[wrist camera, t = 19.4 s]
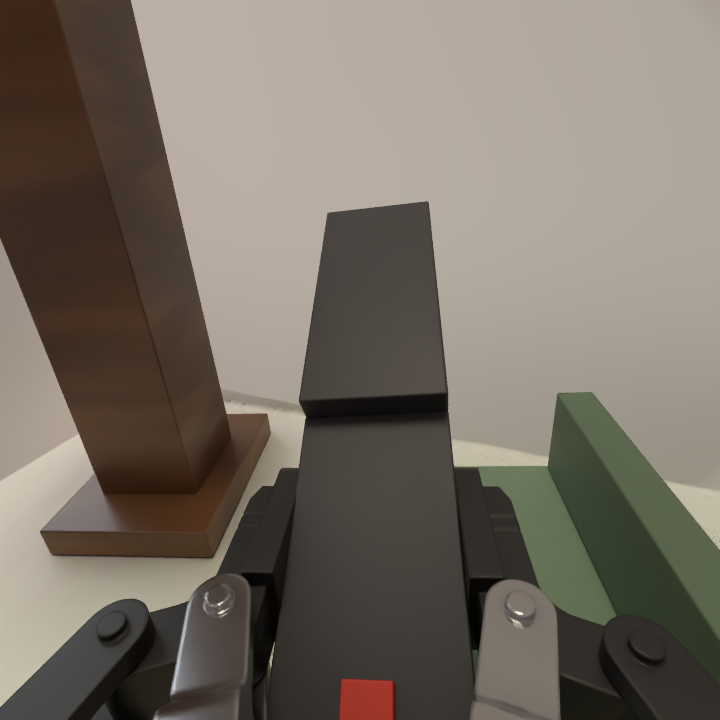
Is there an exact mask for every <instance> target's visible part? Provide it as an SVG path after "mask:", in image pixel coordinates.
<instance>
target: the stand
mask: <svg viewBox="0 0 720 720" xmlns="http://www.w3.org/2000/svg"><path fill="white" fill-rule="evenodd" d="M0 239H1V241H2V244H3V246H4V249H5V251H6V253H7V256H8V258H9V261H10V263H11V266H12V269H13V271H14V273H15V276H16V278H17V281H18V283H19V286H20V288H21V291H22V293H23V296H24V298H25V301H26V303H27V306H28V308H29V311H30V313H31V315H32V318H33V321H34V323H35V325H36V328H37V330H38V333H39V336H40V338H41V341H42V343H43V345H44V348H45V350H46V353H47V355H48V358H49V360H50V363H51V365H52V368H53V370H54V373H55V375H56V378H57V380H58V383H59V385H60V388H61V390H62V393H63V395H64V398H65V400H66V403H67V405H68V408H69V410H70V412H71V415H72V418H73V420H74V423H75V425H76V427H77V430H78V432H79V435H80V437H81V440H82V442H83V445H84V447H85V450H86V452H87V455H88V457H89V460H90V462H91V465H92V467H93V470H94V472H95V474H94V475H93V476H92V477H91V479H90V480H89V481H88V482H87V483H86V484H85V485H84V486H83V487H82V488H81V489H80V490H79V491H78V492H77V493H76V494H75V495H74V496H73V497H72V498H71V499H70V500H69V501H68V503H67V504H66V505H65V506H64V507H63V508H62V509H61V510H60V511H59V512H58V513H57V514H56V515H55V516H54V517H53V518H52V519H51V520H50V521H49V522H48V523H47V524H46V526H45V527H44V528H43V529H42V530H41V531H40V533H41V535H42V537H43V539H44V541H45V543H46V545H47V547H48V549H49V551H50V553H51V554H59V555H116V556H173V557H212V556H213V555H214V553H215V551H216V548H217V546H218V544H219V542H220V540H221V538H222V536H223V533H224V531H225V529H226V527H227V525H228V523H229V521H230V518H231V516H232V514H233V512H234V510H235V508H236V506H237V503H238V501H239V499H240V497H241V495H242V493H243V491H244V488H245V486H246V484H247V482H248V480H249V478H250V476H251V473H252V471H253V469H254V467H255V465H256V463H257V461H258V459H259V456H260V454H261V452H262V450H263V448H264V446H265V444H266V441H267V439H268V437H269V435H270V433H271V431H270V426H269V420H268V415H267V414H226V410H225V406H224V402H223V397H222V393H221V389H220V385H219V381H218V376H217V371H216V367H215V363H214V359H213V354H212V350H211V346H210V341H209V337H208V333H207V328H206V324H205V320H204V315H203V311H202V307H201V302H200V298H199V294H198V289H197V285H196V281H195V276H194V272H193V268H192V263H191V260H190V255H189V250H188V246H187V242H186V238H185V233H184V229H183V224H182V220H181V216H180V212H179V207H178V203H177V199H176V194H175V190H174V186H173V181H172V177H171V173H170V168H169V164H168V160H167V155H166V152H165V147H164V143H163V138H162V134H161V129H160V125H159V121H158V116H157V112H156V108H155V104H154V99H153V95H152V90H151V86H150V82H149V77H148V73H147V69H146V64H145V60H144V56H143V52H142V47H141V43H140V38H139V34H138V30H137V25H136V21H135V17H134V12H133V8H132V4H131V0H0Z"/></svg>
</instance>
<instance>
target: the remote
mask: <svg viewBox="0 0 720 720" xmlns="http://www.w3.org/2000/svg"><path fill="white" fill-rule="evenodd" d="M299 403H300V405H301V407H302V409H303V411H304V413H305V415H306V419H305V427H304V434H303V441H302V449H301V456H300V463H299V470H298V478H297V485H296V492H295V495H296V502H295V509H294V516H293V524H292V531H291V538H290V546H289V553H288V560H287V568H286V575H285V582H284V590H283V597H282V604H281V610H280V611H279V616H278V624H277V631H276V638H275V646H274V653H273V660H272V667H271V675H270V682H269V689H268V697H267V718H268V720H469V719H470V711H471V704H472V698H473V695H474V689H475V675H474V664H473V654H472V644H471V634H470V624H469V614H468V604H467V594H466V584H465V574H464V564H463V554H462V544H461V534H460V524H459V514H458V504H457V494H456V484H455V474H454V464H453V454H452V443H451V433H450V424H449V413H448V387H447V377H446V367H445V358H444V348H443V339H442V328H441V319H440V309H439V299H438V289H437V280H436V271H435V261H434V250H433V241H432V231H431V221H430V212H429V203H428V202H427V201H426V202H418V203H410V204H401V205H392V206H384V207H374V208H366V209H357V210H348V211H340V212H331V213H328V214H327V220H326V226H325V233H324V240H323V247H322V253H321V259H320V266H319V273H318V279H317V285H316V292H315V298H314V305H313V311H312V318H311V325H310V331H309V338H308V345H307V351H306V357H305V364H304V370H303V377H302V383H301V390H300V397H299Z"/></svg>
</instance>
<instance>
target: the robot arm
mask: <svg viewBox="0 0 720 720" xmlns="http://www.w3.org/2000/svg"><path fill="white" fill-rule="evenodd" d="M298 470H299V468H281V470H280V471H279V474H278V477H277V479H276V482H275V484H274V486H262V487H261V488H260V489H259V490H258V491H257V492H256V494H255V495H254V496H253V497H252V498H251V499H250V500H249V503H248V505H247V507H246V509H245V512H244V516H242V518H241V521H240V523H239V525H238V529H237V530H236V532H235V534H234V537H233V539H232V541H231V543H230V546H229V548H228V550H227V552H226V555H225V557H224V559H223V561H222V564H221V566H220V568H219V571H218V573H217V575H216V576H215V577H212V578H210V579H209V580H207V581H205V582H204V583H203V584H201V585H200V586H199V587H198V588H197V589H196V590H195V591H194V593H193V594H192V596H191V597H190V599H189V601H187V602H185V603H182V604H179V605H176V606H172V607H169V608H165V609H161V610H158V611H154V612H150V613H149V611H148V608H147V606H146V605H145V604H144V603H143V602H142V601H140V600H137V599H124V600H119V601H116V602H114V603H112V604H109V605H107V606H106V607H104V608H102V609H101V610H100V611H98V612H97V613H96V614H95V615H93V616H92V617H91V618H90V619H89V620H88V621H87V622H86V623H85V624H84V625H83V626H82V627H81V628H80V629H79V630H78V631H77V632H76V633H75V634H74V635H73V636H72V637H71V638H70V639H69V640H68V641H67V642H66V643H65V644H64V645H63V646H62V647H61V648H60V649H59V650H58V651H57V652H56V653H55V654H54V655H53V656H52V657H51V658H50V659H49V660H48V661H47V662H46V663H45V664H44V665H43V666H42V667H41V668H40V669H39V670H38V671H37V672H36V673H35V674H34V675H32V676H31V677H30V678H29V679H28V680H27V681H26V682H25V683H24V684H23V685H22V686H21V687H20V688H19V689H18V690H17V691H16V692H15V693H14V694H13V695H12V696H11V697H10V698H9V699H8V700H7V701H6V702H5V703H4V704H3V705H2V706H1V707H0V720H268V718H267V697H268V689H269V682H270V675H271V670H270V663H269V660H270V656H271V652H272V648H273V645H274V642H275V638H276V631H277V624H278V616H279V611H280V610H281V604H282V597H283V590H284V582H285V575H286V568H287V560H288V553H289V546H290V538H291V531H292V524H293V516H294V509H295V502H296V495H295V492H296V485H297V478H298ZM454 474H455V484H456V494H457V504H458V514H459V524H460V534H461V544H462V554H463V564H464V574H465V584H466V594H467V604H468V614H469V624H470V634H471V644H472V650H478V655H479V656H478V664H477V673H476V681H475V689H474V695H473V698H472V704H471V711H470V719H469V720H720V685H719V684H718V683H717V682H716V681H715V680H714V679H713V678H712V676H711V675H710V674H709V673H708V672H707V671H706V670H705V669H704V668H703V667H702V666H701V665H700V663H699V662H698V661H697V660H696V659H695V658H694V657H693V656H692V655H691V654H690V653H689V652H688V650H687V649H686V648H685V647H684V646H683V645H682V644H681V643H680V642H679V641H678V640H677V639H676V638H675V637H674V636H673V635H672V634H671V633H670V632H669V631H668V630H666V629H665V628H664V627H662V626H661V625H659V624H657V623H655V622H653V621H652V620H649V619H647V618H644V617H641V616H637V615H630V614H626V615H618V616H616V617H613V618H612V619H610V620H609V621H608V622H607V624H606V625H605V626H604V625H601V624H598V623H595V622H591V621H588V620H585V619H582V618H579V617H576V616H573V615H571V614H569V613H567V612H565V611H563V610H562V609H560V608H559V607H557V606H556V605H555V604H553V603H552V602H551V600H550V599H549V598H548V596H547V595H546V594H545V593H544V592H543V591H542V590H541V588H540V587H539V584H538V582H537V579H536V576H535V572H534V569H533V566H532V563H531V560H530V557H529V554H528V551H527V548H526V544H525V541H524V538H523V535H522V532H521V530H520V526H519V523H518V519H517V518H516V513H515V510H514V507H513V504H512V501H511V499H510V498H509V497H508V496H507V495H506V494H505V492H504V491H503V490H502V489H501V488H500V487H499V486H483V485H482V481H481V477H480V473H479V469H478V467H454Z"/></svg>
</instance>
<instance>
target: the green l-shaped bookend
mask: <svg viewBox="0 0 720 720" xmlns="http://www.w3.org/2000/svg"><path fill="white" fill-rule="evenodd" d="M478 469H479V473H480V477H481V481H482V485H483V486H499V487H500V488H501V489H502V490H503V491H504V492H505V494H506V495H507V496H508V497H509V498H510V499H511V501H512V504H513V507H514V510H515V513H516V518H517V519H518V523H519V526H520V530H521V532H522V535H523V538H524V541H525V544H526V548H527V551H528V554H529V557H530V560H531V563H532V566H533V569H534V572H535V576H536V579H537V582H538V584H539V587H540V588H541V590H542V591H543V592H544V593H545V594H546V595H547V596H548V598H549V599H550V600H551V602H552V603H553V604H555V605H556V606H557V607H559V608H560V609H562V610H563V611H565V612H567V613H569V614H571V615H573V616H576V617H579V618H582V619H585V620H588V621H591V622H595V623H598V624H601V625H604V626H605V625H606V624H607V622H608V621H609V620H610V619H612V618H613V617H616V616H618V615H626V614H630V615H637V616H641V617H644V618H647V619H649V620H652V621H653V622H655V623H657V624H659V625H661V626H662V627H664V628H665V629H666V630H668V631H669V632H670V633H671V634H672V635H673V636H674V637H675V638H676V639H677V640H678V641H679V642H680V643H681V644H682V645H683V646H684V647H685V648H686V649H687V650H688V652H689V653H690V654H691V655H692V656H693V657H694V658H695V659H696V660H697V661H698V662H699V663H700V665H701V666H702V667H703V668H704V669H705V670H706V671H707V672H708V673H709V674H710V675H711V676H712V678H713V679H714V680H715V681H716V682H717V683H718V684H719V685H720V550H719V549H718V548H717V546H716V545H715V544H714V543H713V541H712V540H711V539H710V538H709V536H708V535H707V534H706V533H705V531H704V530H703V529H702V528H701V526H700V525H699V524H698V523H697V522H696V520H695V519H694V518H693V517H692V515H691V514H690V513H689V512H688V510H687V509H686V508H685V507H684V505H683V504H682V503H681V502H680V500H679V499H678V498H677V497H676V496H675V494H674V493H673V492H672V491H671V489H670V488H669V487H668V486H667V484H666V483H665V482H664V481H663V479H662V478H661V477H660V476H659V474H658V473H657V472H656V471H655V470H654V468H653V467H652V466H651V465H650V463H649V462H648V461H647V460H646V459H645V457H644V456H643V455H642V453H641V452H640V451H639V450H638V449H637V447H636V446H635V445H634V444H633V442H632V441H631V440H630V439H629V437H628V436H627V435H626V434H625V432H624V431H623V430H622V429H621V428H620V426H619V425H618V424H617V422H616V421H615V420H614V419H613V418H612V416H611V415H610V414H609V413H608V411H607V410H606V409H605V408H604V406H603V405H602V404H601V403H600V401H599V400H598V399H597V398H596V397H595V395H594V394H593V393H591V392H583V393H582V392H581V393H558V394H557V401H556V408H555V416H554V424H553V431H552V438H551V446H550V454H549V461H548V468H547V466H490V467H478ZM472 654H473V664H474V675H475V681H476V673H477V664H478V656H479V655H478V650H472Z"/></svg>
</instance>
